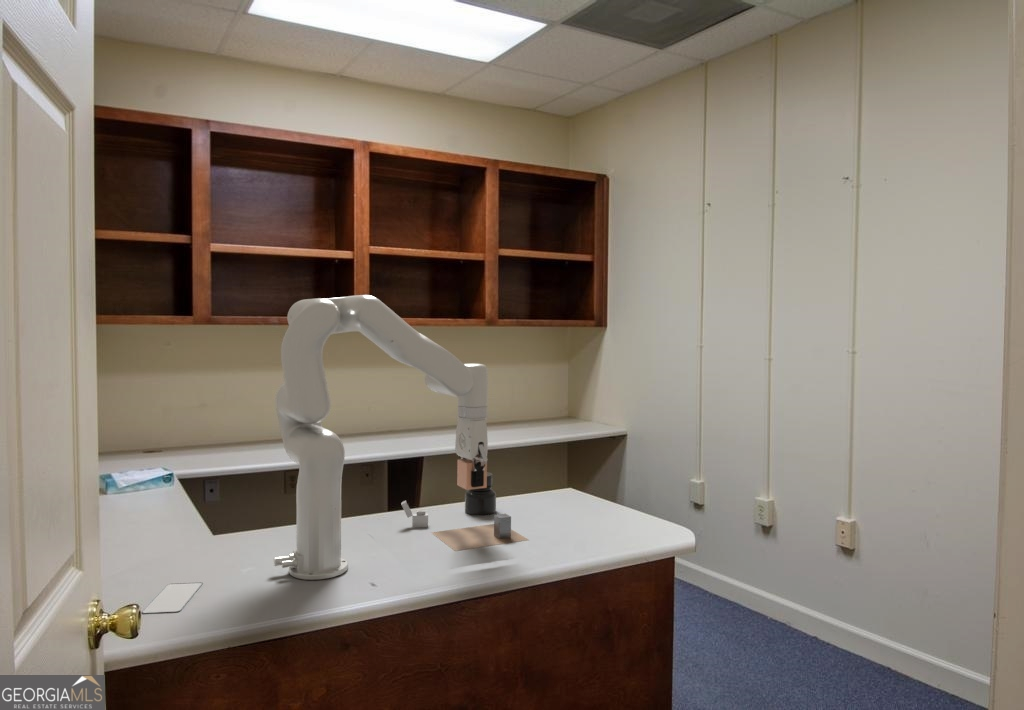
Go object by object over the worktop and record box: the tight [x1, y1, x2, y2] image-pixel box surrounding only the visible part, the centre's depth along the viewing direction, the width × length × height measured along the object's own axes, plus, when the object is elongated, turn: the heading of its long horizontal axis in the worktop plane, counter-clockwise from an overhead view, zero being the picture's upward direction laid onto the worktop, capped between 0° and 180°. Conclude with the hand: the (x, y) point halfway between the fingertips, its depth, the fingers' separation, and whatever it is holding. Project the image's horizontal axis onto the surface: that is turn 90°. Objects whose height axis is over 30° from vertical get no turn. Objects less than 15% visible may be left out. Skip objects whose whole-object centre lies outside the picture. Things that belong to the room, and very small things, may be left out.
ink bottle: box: [464, 471, 497, 517], centre depth 199 cm, size 10×9×12 cm
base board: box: [430, 523, 529, 552], centre depth 176 cm, size 20×16×1 cm
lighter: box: [400, 500, 429, 528], centre depth 184 cm, size 7×2×8 cm, turn 98°
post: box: [493, 513, 512, 539], centre depth 176 cm, size 3×3×5 cm
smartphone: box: [141, 581, 204, 615], centre depth 138 cm, size 7×1×15 cm
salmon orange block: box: [456, 458, 488, 491], centre depth 175 cm, size 6×6×7 cm
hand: (472, 483), depth 176 cm, fingers closed on salmon orange block, 5 cm apart
